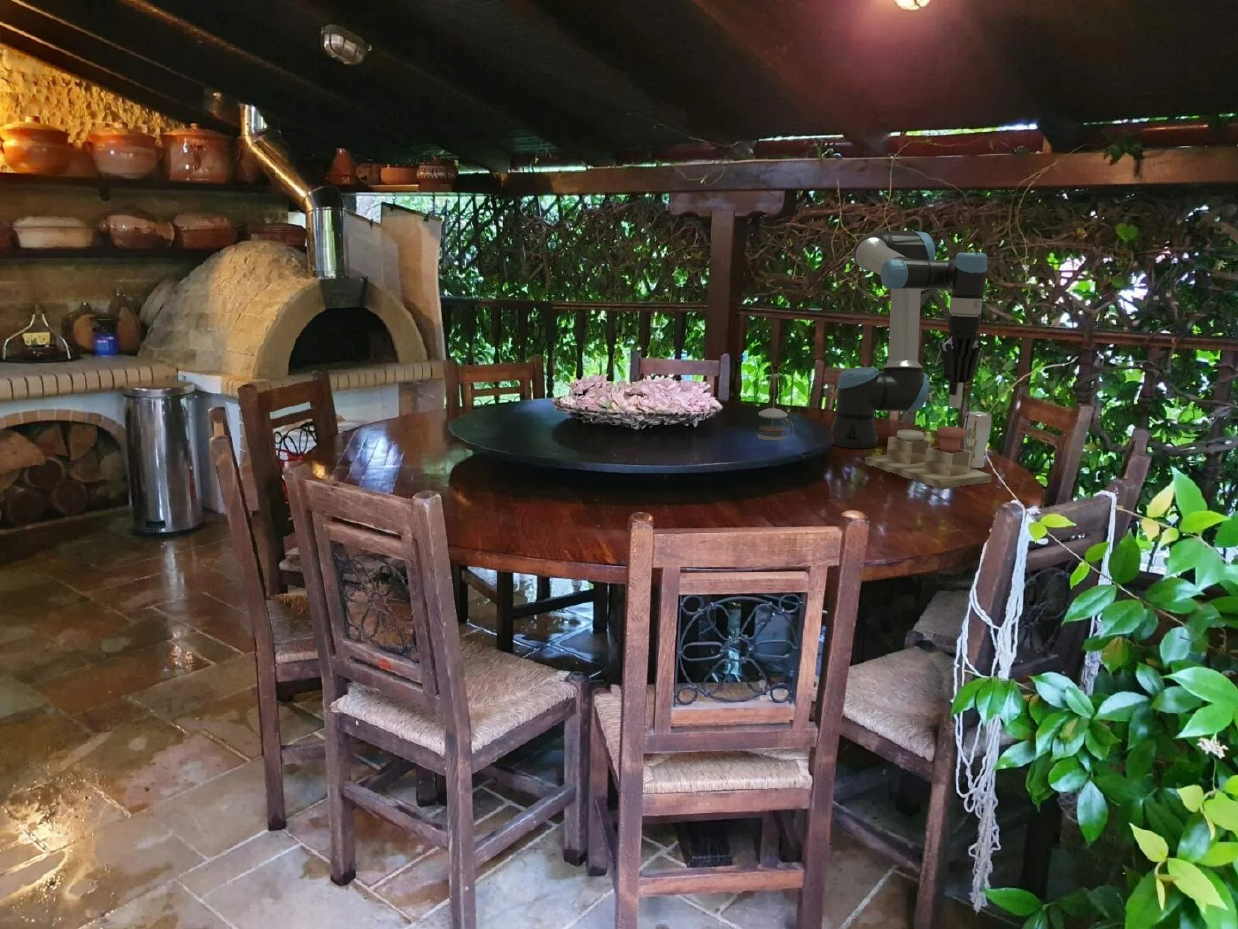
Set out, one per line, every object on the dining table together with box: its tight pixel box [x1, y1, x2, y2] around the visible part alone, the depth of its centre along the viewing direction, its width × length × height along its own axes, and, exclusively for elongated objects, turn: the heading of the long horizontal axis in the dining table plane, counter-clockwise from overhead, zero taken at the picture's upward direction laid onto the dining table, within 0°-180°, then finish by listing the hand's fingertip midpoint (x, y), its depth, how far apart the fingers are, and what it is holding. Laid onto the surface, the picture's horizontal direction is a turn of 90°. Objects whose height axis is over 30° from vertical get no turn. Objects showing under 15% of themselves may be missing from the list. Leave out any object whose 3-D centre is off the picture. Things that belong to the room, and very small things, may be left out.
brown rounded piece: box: [936, 426, 966, 453], centre depth 231 cm, size 7×7×7 cm
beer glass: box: [963, 410, 992, 469], centre depth 247 cm, size 7×7×15 cm
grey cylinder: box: [896, 429, 925, 442], centre depth 244 cm, size 7×7×7 cm
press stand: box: [864, 435, 993, 490], centre depth 238 cm, size 28×18×8 cm, turn 27°
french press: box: [757, 373, 794, 441], centre depth 244 cm, size 10×12×25 cm
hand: (954, 407), depth 228 cm, fingers closed
